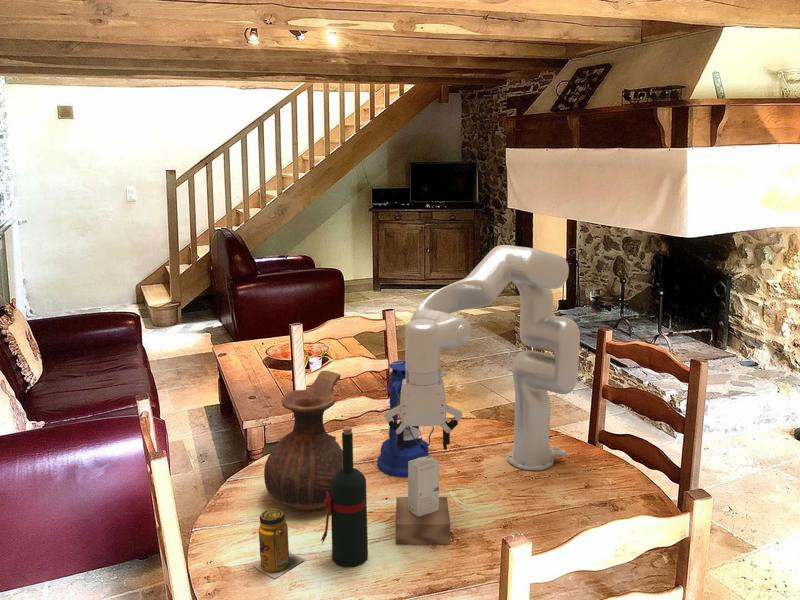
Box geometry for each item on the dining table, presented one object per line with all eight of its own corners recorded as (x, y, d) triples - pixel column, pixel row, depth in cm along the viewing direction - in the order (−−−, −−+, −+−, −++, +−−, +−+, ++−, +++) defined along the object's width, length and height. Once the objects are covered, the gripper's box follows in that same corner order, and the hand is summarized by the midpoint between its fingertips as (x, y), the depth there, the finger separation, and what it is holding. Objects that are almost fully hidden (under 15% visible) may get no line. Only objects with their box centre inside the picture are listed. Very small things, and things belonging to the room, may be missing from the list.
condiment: (252, 566, 152) (249, 515, 149) (282, 548, 158) (280, 499, 155) (274, 579, 147) (271, 527, 145) (305, 561, 154) (303, 510, 151)
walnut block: (446, 515, 171) (446, 496, 170) (449, 544, 159) (450, 524, 158) (396, 516, 171) (396, 497, 170) (396, 544, 159) (395, 524, 158)
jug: (364, 509, 174) (362, 393, 167) (277, 528, 166) (271, 407, 159) (337, 471, 194) (334, 365, 187) (257, 486, 186) (251, 377, 179)
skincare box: (417, 518, 161) (417, 468, 158) (406, 509, 164) (406, 460, 162) (440, 510, 164) (440, 461, 161) (429, 501, 168) (429, 454, 165)
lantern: (393, 447, 208) (392, 348, 201) (441, 456, 202) (442, 355, 195) (365, 472, 193) (363, 367, 186) (417, 483, 187) (417, 374, 180)
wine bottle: (318, 551, 157) (314, 424, 150) (363, 544, 160) (361, 418, 153) (324, 572, 150) (320, 439, 143) (372, 564, 152) (370, 433, 145)
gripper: (460, 369, 160) (460, 439, 164) (383, 370, 160) (385, 440, 164) (463, 381, 153) (463, 454, 157) (382, 382, 153) (384, 455, 157)
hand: (423, 447), depth 161 cm, fingers open, 9 cm apart
